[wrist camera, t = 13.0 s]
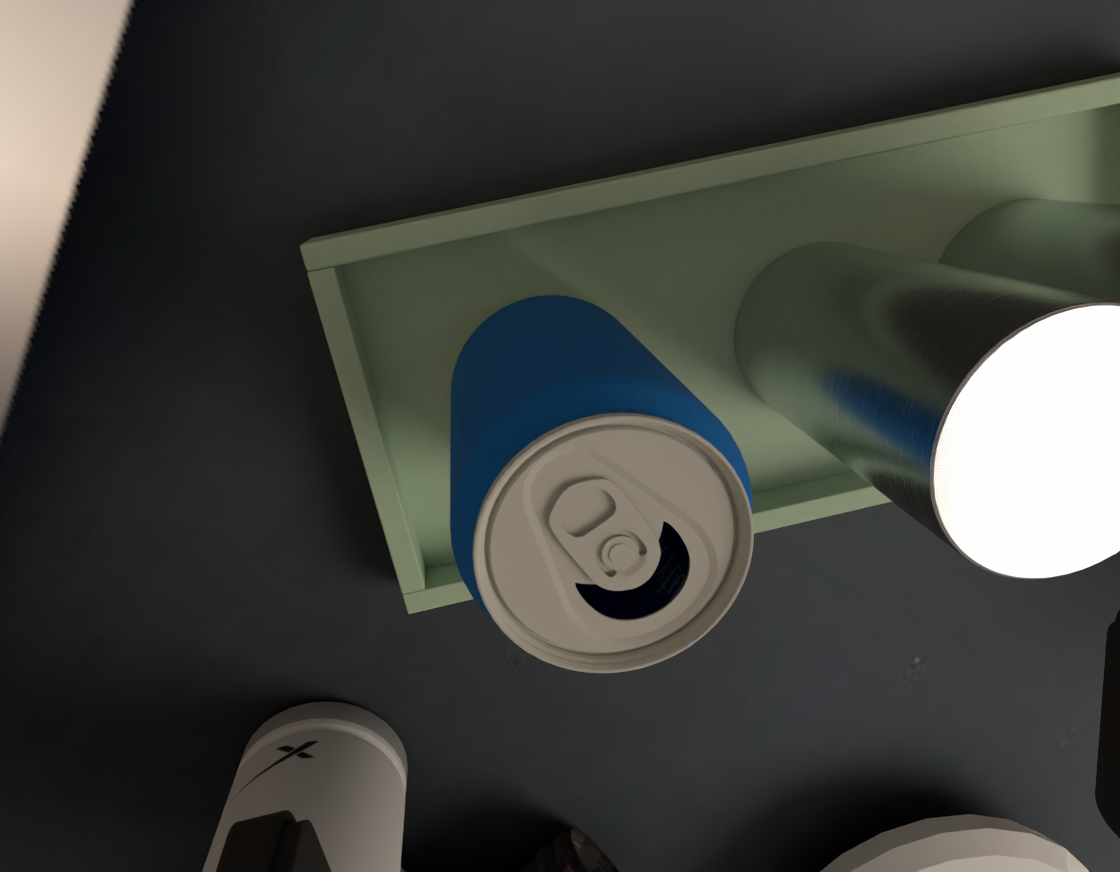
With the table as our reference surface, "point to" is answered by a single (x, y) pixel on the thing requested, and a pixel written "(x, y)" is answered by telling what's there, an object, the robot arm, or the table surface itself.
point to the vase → (958, 848)
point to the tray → (672, 283)
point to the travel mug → (325, 784)
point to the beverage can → (591, 491)
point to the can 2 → (1045, 245)
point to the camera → (569, 856)
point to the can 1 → (950, 397)
